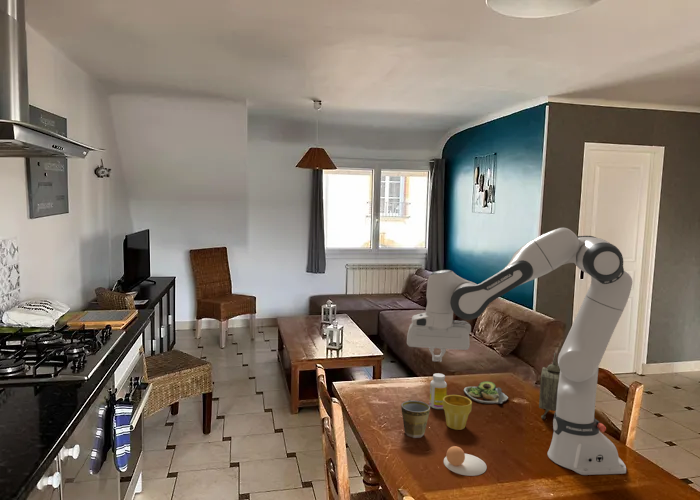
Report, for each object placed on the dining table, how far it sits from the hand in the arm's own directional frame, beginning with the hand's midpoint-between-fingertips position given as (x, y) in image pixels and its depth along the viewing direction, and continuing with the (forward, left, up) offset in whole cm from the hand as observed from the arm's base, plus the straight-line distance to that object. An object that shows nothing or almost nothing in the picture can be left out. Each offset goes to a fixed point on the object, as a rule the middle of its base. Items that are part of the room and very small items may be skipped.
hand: (436, 361), depth 157 cm
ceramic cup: (+6, -10, -29) cm, 32 cm away
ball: (-6, +11, -26) cm, 29 cm away
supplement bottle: (-5, -34, -29) cm, 45 cm away
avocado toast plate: (-27, -49, -30) cm, 63 cm away
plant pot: (-10, -17, -29) cm, 35 cm away
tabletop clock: (-49, -32, -29) cm, 65 cm away
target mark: (-9, +10, -29) cm, 32 cm away
